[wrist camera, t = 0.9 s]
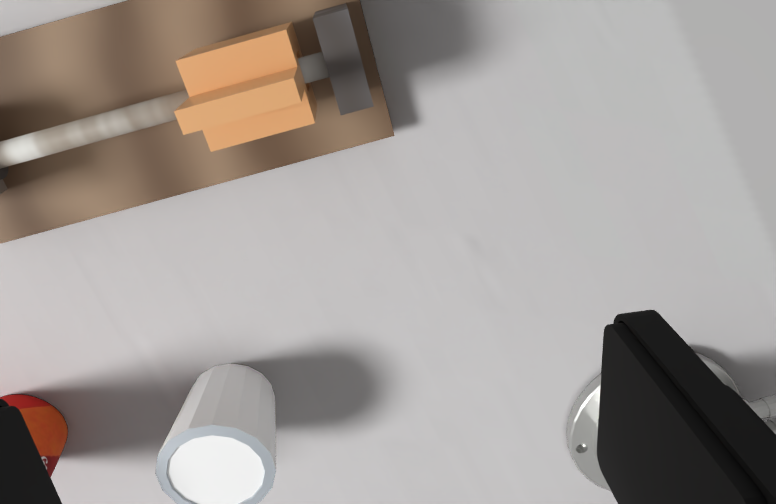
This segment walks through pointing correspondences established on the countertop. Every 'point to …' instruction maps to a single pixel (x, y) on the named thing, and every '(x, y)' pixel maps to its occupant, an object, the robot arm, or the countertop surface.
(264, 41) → the orange sliding block
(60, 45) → the wooden slider rail
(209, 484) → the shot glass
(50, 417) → the paper cup
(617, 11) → the countertop surface
